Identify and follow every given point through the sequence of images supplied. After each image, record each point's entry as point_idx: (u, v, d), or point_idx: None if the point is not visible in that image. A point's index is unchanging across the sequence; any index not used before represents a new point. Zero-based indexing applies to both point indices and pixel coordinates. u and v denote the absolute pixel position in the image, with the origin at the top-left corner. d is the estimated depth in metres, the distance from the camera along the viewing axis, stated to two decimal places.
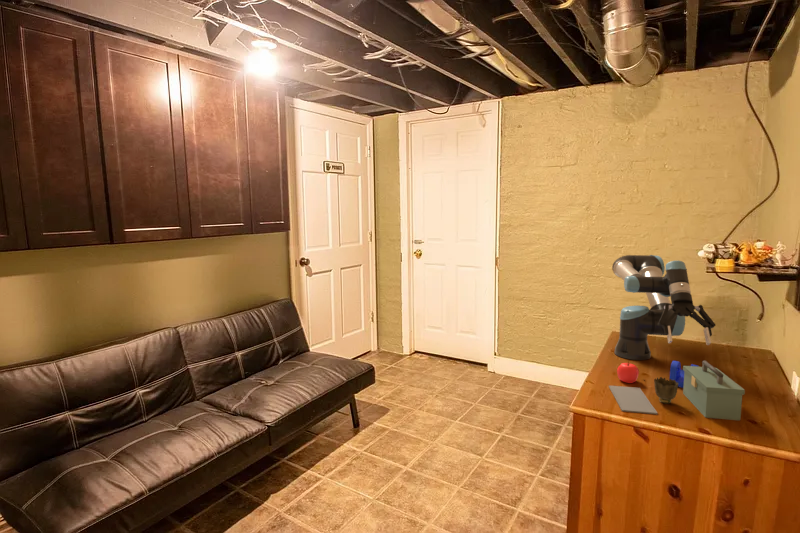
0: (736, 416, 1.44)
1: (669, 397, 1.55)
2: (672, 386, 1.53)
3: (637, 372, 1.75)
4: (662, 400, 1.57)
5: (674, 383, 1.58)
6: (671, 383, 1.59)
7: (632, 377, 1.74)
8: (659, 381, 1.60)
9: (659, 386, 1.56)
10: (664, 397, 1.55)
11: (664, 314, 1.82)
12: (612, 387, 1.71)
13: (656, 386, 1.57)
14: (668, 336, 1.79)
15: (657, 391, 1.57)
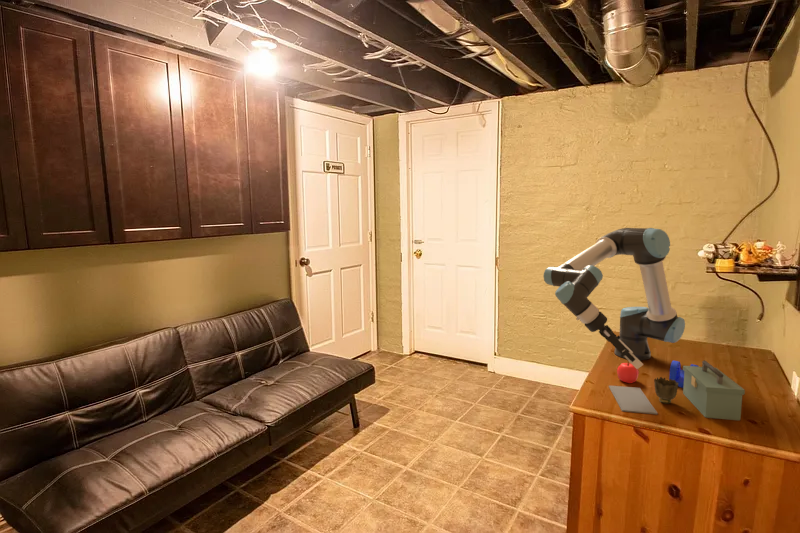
0: (736, 416, 1.44)
1: (669, 397, 1.55)
2: (672, 386, 1.53)
3: (637, 372, 1.75)
4: (662, 400, 1.57)
5: (674, 383, 1.58)
6: (671, 383, 1.59)
7: (632, 377, 1.74)
8: (659, 381, 1.60)
9: (659, 386, 1.56)
10: (664, 397, 1.55)
11: None
12: (612, 387, 1.71)
13: (656, 386, 1.57)
14: None
15: (657, 391, 1.57)
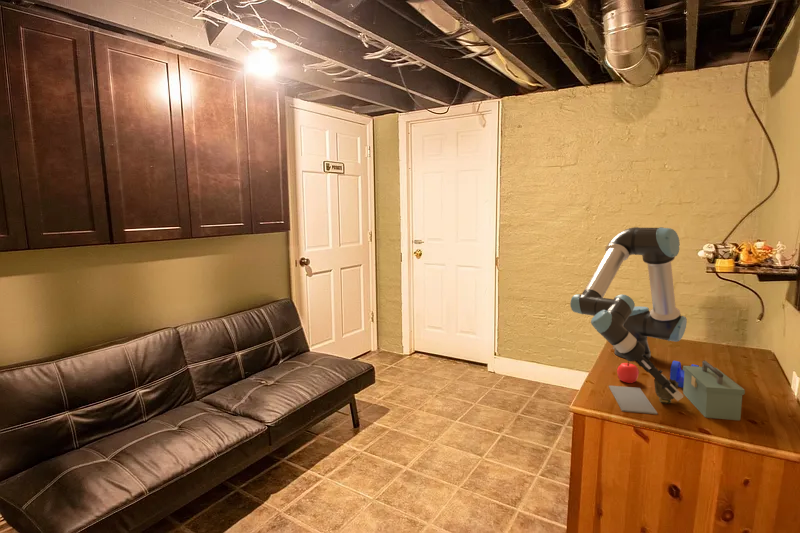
0: (736, 416, 1.44)
1: (669, 397, 1.55)
2: None
3: (637, 372, 1.75)
4: (662, 400, 1.57)
5: (674, 383, 1.58)
6: (671, 383, 1.59)
7: (632, 377, 1.74)
8: None
9: (659, 386, 1.56)
10: (664, 397, 1.55)
11: None
12: (612, 387, 1.71)
13: (656, 386, 1.57)
14: None
15: (657, 391, 1.57)
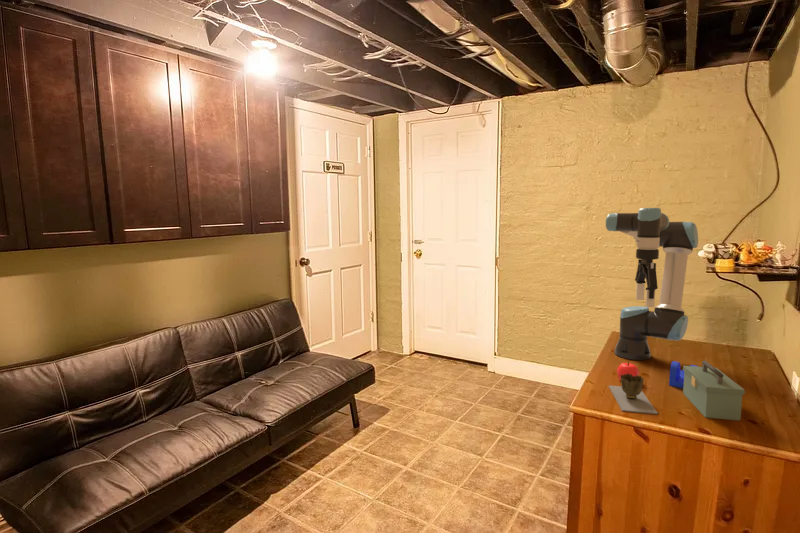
0: (736, 416, 1.44)
1: (634, 393, 1.57)
2: (637, 382, 1.56)
3: (637, 372, 1.75)
4: (628, 396, 1.60)
5: (640, 379, 1.60)
6: (637, 379, 1.61)
7: None
8: (626, 377, 1.63)
9: (625, 382, 1.58)
10: (629, 393, 1.58)
11: (637, 271, 1.77)
12: (612, 387, 1.71)
13: (622, 382, 1.60)
14: None
15: (623, 387, 1.60)
